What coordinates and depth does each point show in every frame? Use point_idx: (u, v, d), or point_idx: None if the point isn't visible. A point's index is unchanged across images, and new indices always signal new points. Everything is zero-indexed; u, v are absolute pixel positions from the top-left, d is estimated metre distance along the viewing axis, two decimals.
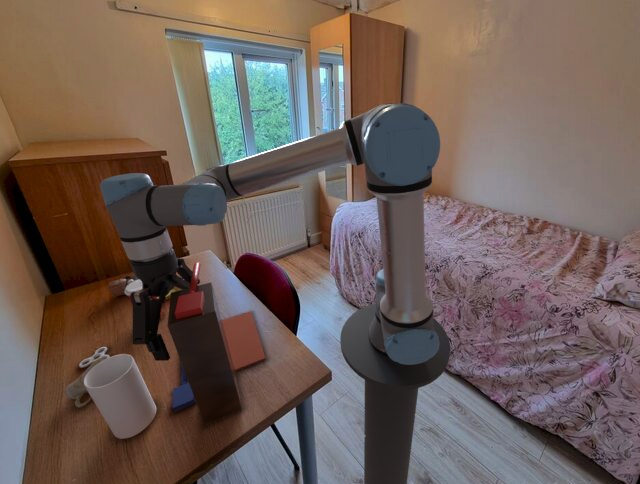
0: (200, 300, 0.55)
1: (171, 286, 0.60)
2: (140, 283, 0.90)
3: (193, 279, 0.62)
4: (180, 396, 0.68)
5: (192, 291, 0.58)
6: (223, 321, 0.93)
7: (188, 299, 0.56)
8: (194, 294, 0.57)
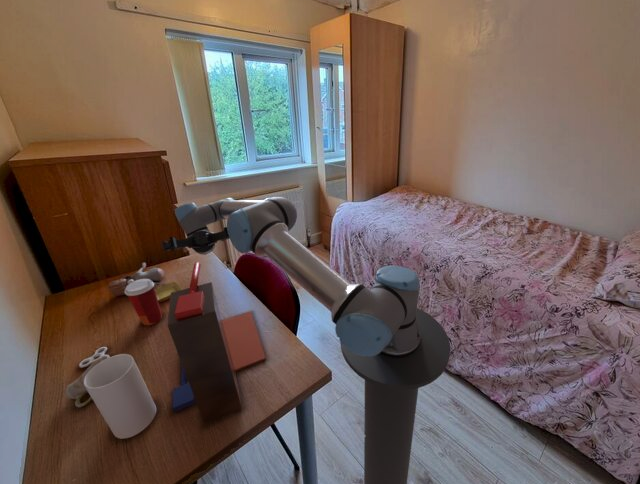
0: (200, 300, 0.55)
1: (203, 236, 0.90)
2: (140, 283, 0.90)
3: (193, 279, 0.62)
4: (180, 396, 0.68)
5: (192, 291, 0.58)
6: (223, 321, 0.93)
7: (188, 299, 0.56)
8: (194, 294, 0.57)
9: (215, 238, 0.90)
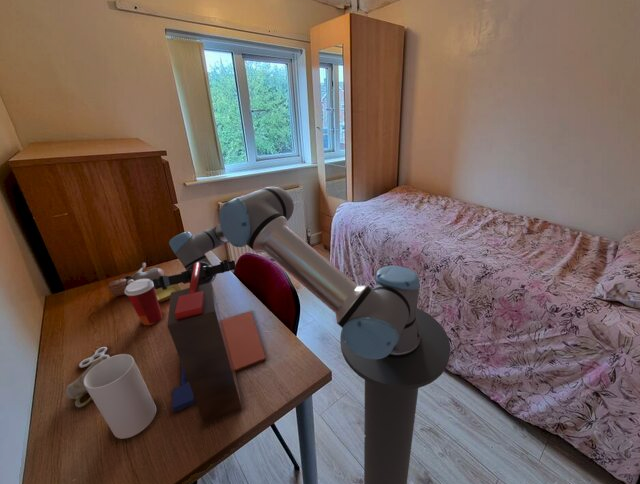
0: (200, 300, 0.55)
1: (200, 269, 0.83)
2: (140, 283, 0.90)
3: (193, 279, 0.62)
4: (180, 396, 0.68)
5: (192, 291, 0.58)
6: (223, 321, 0.93)
7: (188, 299, 0.56)
8: (194, 294, 0.57)
9: (212, 271, 0.83)
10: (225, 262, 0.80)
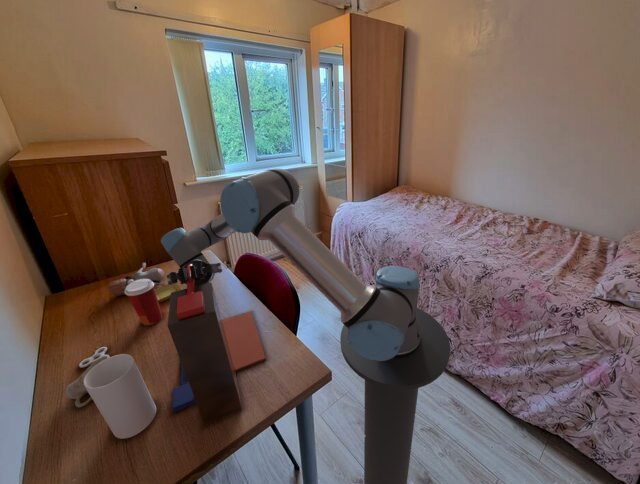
0: (201, 299, 0.56)
1: None
2: (140, 283, 0.90)
3: (189, 280, 0.62)
4: (180, 396, 0.68)
5: (191, 291, 0.58)
6: (223, 321, 0.93)
7: (188, 299, 0.56)
8: (193, 294, 0.57)
9: None
10: (197, 266, 0.67)
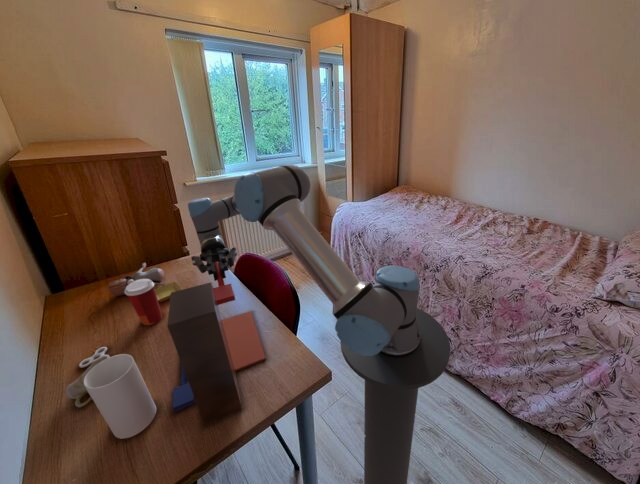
0: (231, 290, 0.70)
1: (216, 253, 0.88)
2: (140, 283, 0.90)
3: (219, 275, 0.76)
4: (180, 396, 0.68)
5: (222, 284, 0.73)
6: (223, 321, 0.93)
7: (221, 290, 0.71)
8: (225, 286, 0.72)
9: (219, 260, 0.86)
10: (222, 260, 0.81)
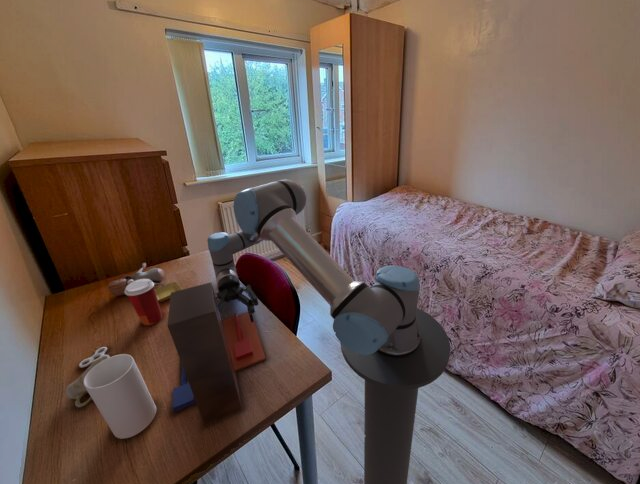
0: (250, 345, 0.81)
1: (232, 293, 0.97)
2: (140, 283, 0.90)
3: (238, 328, 0.87)
4: (180, 396, 0.68)
5: (241, 339, 0.84)
6: (223, 321, 0.93)
7: (241, 345, 0.81)
8: (244, 341, 0.83)
9: (240, 299, 0.96)
10: (249, 302, 0.92)
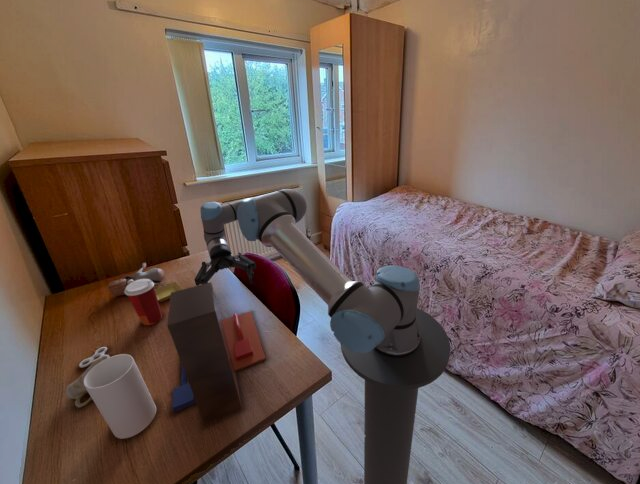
0: (250, 345, 0.81)
1: (225, 262, 1.04)
2: (140, 283, 0.90)
3: (238, 328, 0.87)
4: (180, 396, 0.68)
5: (241, 339, 0.84)
6: (223, 321, 0.93)
7: (241, 345, 0.81)
8: (244, 341, 0.83)
9: (236, 266, 1.05)
10: (249, 266, 1.02)
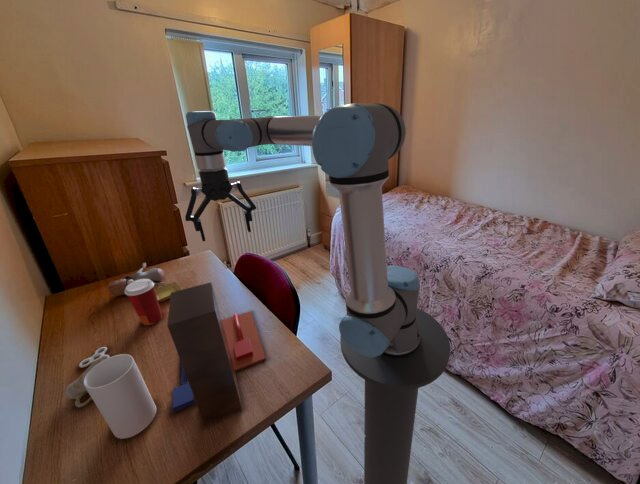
0: (250, 345, 0.81)
1: (221, 197, 0.85)
2: (140, 283, 0.90)
3: (238, 328, 0.87)
4: (180, 396, 0.68)
5: (241, 339, 0.84)
6: (223, 321, 0.93)
7: (241, 345, 0.81)
8: (244, 341, 0.83)
9: None
10: None
